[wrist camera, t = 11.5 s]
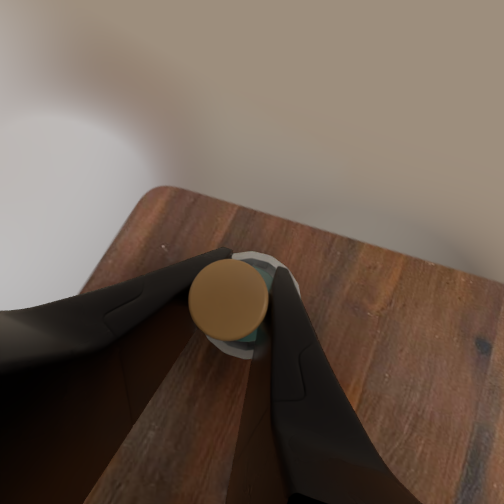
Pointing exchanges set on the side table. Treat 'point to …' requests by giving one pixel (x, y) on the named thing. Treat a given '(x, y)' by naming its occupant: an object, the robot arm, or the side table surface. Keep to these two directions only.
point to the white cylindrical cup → (268, 265)
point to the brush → (229, 300)
